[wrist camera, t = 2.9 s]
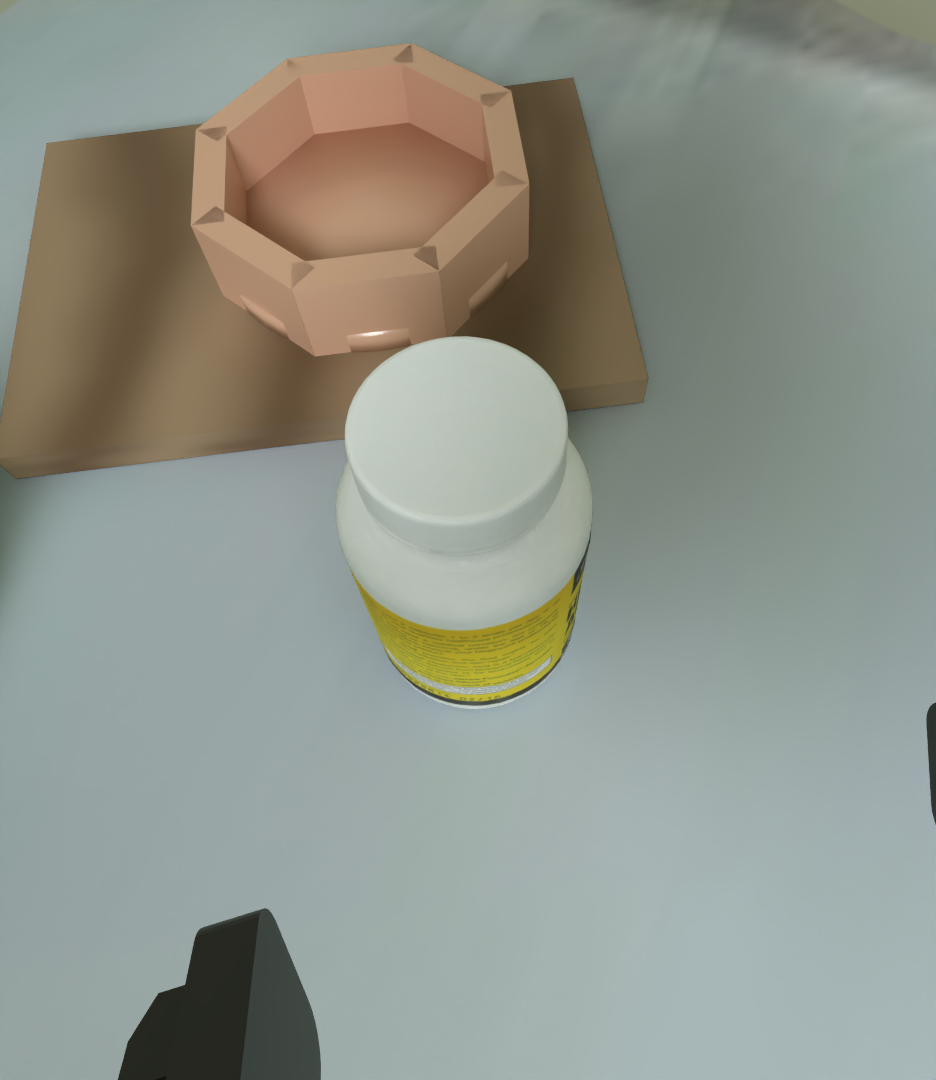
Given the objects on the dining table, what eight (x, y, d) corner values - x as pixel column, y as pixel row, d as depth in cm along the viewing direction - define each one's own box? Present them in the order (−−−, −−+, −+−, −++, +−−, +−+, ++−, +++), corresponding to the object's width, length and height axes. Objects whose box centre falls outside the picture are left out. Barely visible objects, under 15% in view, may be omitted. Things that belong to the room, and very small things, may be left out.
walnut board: (15, 478, 26) (-6, 459, 25) (62, 169, 32) (46, 143, 31) (643, 402, 26) (648, 379, 25) (571, 106, 32) (573, 78, 31)
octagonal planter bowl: (217, 371, 26) (183, 305, 23) (224, 144, 31) (196, 68, 28) (545, 330, 26) (548, 260, 23) (503, 110, 31) (502, 29, 28)
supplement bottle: (598, 685, 22) (651, 522, 13) (403, 735, 22) (325, 601, 13) (543, 513, 25) (557, 277, 16) (366, 555, 24) (279, 340, 15)
